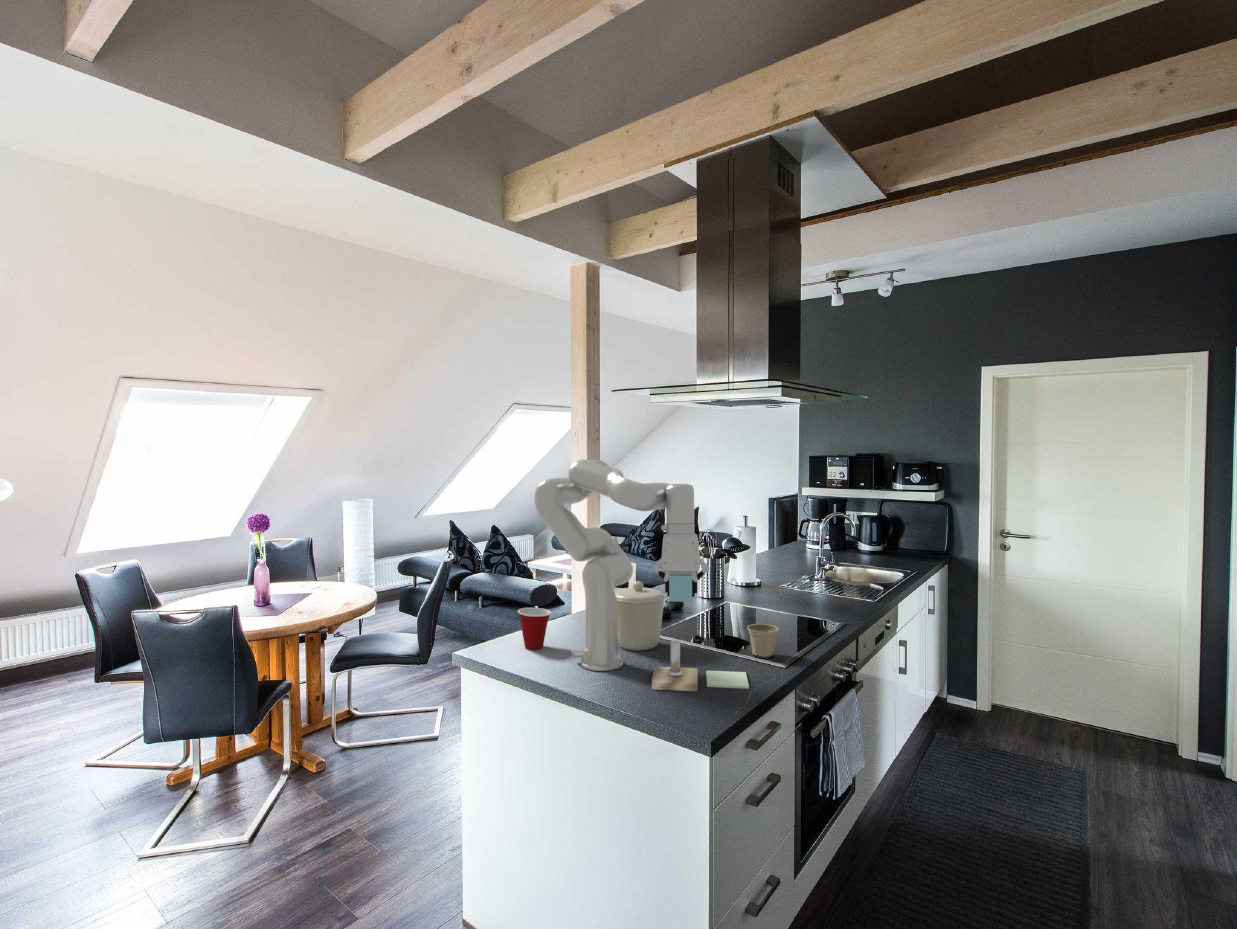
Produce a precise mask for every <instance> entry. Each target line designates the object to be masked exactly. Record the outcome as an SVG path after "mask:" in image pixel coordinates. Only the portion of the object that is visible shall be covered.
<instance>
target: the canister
mask: <svg viewBox="0 0 1237 929" xmlns="http://www.w3.org/2000/svg"><path fill="white" fill-rule="evenodd" d="M614 592H615V595H616V598H617V603H618V646H620V647H621V648H623V649H625V650H629V651H636V652H637V651H638V652H639V651H649V650H652V649H654V648H655V647H657V646H658V645H659V642H660V637H661V629H662V625H663V624H662V622H663V613H664V606H665V605H664V603H665V600H666V599H667V595H666V593H663V592H662V591H661V590H658V589H655V588H650V587H644V583H643V582H642V581H638V580H637V581H634V582H633V583H632V587H624V588H620V589H617V590H614Z"/></svg>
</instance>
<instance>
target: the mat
mask: <svg viewBox="0 0 1237 929" xmlns="http://www.w3.org/2000/svg"><path fill="white" fill-rule="evenodd" d="M705 674H706V687H707V688H724V689H727V688H728V689H747V690H749V689H750V685H749V681H748V677H747V672H746V671H725V670H706V673H705Z"/></svg>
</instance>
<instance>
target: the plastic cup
mask: <svg viewBox="0 0 1237 929" xmlns="http://www.w3.org/2000/svg"><path fill="white" fill-rule="evenodd" d="M517 614H518V616H519V622H520V625H521V632H522V639H523V644H524V648H525V649H526V650H529V649H537V650H541V649H543V647H544V642H545V638H546V633H547V626H548V622H549V619H550V617H551V615H552V611H551V610H549V609H546V608H541V607H523V608H519V609H518V610H517Z"/></svg>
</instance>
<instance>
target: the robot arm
mask: <svg viewBox="0 0 1237 929" xmlns="http://www.w3.org/2000/svg"><path fill="white" fill-rule="evenodd" d="M593 494H599V495H601V496H605V497H607V498H610V500H611V501H613V502H615V503H616V504H618V505H620V506H623V507H625V508H629V509H633V510H636V511H640V512H650V511H658V510H664V509H666V510H665V511H666V512H665V514H666V517H665V519H666V523H665V524H661V526H660V528H661V531H665V532H666V533H665V534H663V537H662V547H661V557H660V559H659V560H658V561H657V562H656V563H655V564H653V566H652V569H653V571H654V572H655V573H656V574H658V576H659V577H660V578H661V579H662V580H663V581H664V594H667V597H669V575H670V574H671V572H690V573H691V575H692V596H693V598H695V595H696V594H698V583H699V582H698V581H699V580H700V579H702V577H704V575H705V574H707V573H708V572H709V570H710V565H708V564H707V563H706V562H705V561H704V560H703V559H702V558H701V557H700V556H701V555H700V544H699V537H698V534H697V533H695V489H694V486H693V485H692V484H689V483H672V484H671V483H668V482H667V483H666V482H647V483H641V482H638V481H635V480H632V479H628V478H625V476H624V473H623V472H622V470H620V469H618V468H615V467H612V466H610V465H609V464H608V463H607V462H605V461H603V460H601V459H580V460H576V461H575V462H573V463H572V464H571V465H570V466H569V468H568V476H567V477H553V478H548V479H545V480H543V481H541V482H539V484H538V485H537V486H536V488H535V492H534V505H535V510H536V511H537V514H538V515H539V517H540V518H541V519H542V521H543V523H544V524H546V526H547V527H548V528H549V530H551V532H552V533H553V534H554V536H555V538H556V539H557V540H558V541H559V543H560V544H561V545H562V547H563V548H564V550H565V551H566V553H567V554H568V555H569V556H570V557H571V559H573V560H574V561H576V562H587V561H588V562H587V563H586V564H585V565H584V567H583V569H582V573H581V574H582V575H581V576H582V577H581V578H582V585H583V591H584V597H585V598H584V599H585V601H584V602H585V647H584V648H583V647H582V648H581V649H579V648H571V653H570V654H571V656H573V657H574V658H581V659H580V666H581V667H582V668H584V669H585V670H589V671H597V672H607V671H614V670H617V669H619V668H622V666H623V665H624V659H623V658H622V657H620V656H619V643H618V603H617V598H616V595H615V588H616V587H617V586H622V585H624V584H626V583H627V582H629V581H630V579H631V578H632V576H633V573H634V570H633V563H632V561H631V560H630V558H629V556H628V555H627V554H626V552H625V551H624V550H623V549H622V547H621V546H620V544H618V543H617V541H616V540H615V538H614V537H613V536H612V535H611V534H610V532H608V531H607V530H605V529H603V528H601V527H590V528H587V527H586V526H584V525H583V524H582V522H581V521H580V520H579V519H578V518H577V516H576V515H575V514H574V513H573V512H572V511H571V510H569V509H568V508H567V507H565V506H564V505H566V506H567V505H576V504H577V503H580V502H582V501H584V500H586V499H587V498H589V497H590V496H592V495H593ZM700 566H701V567H702V569H701V570H700ZM660 567H661V568H662V569H661V568H660ZM699 570H700V571H699ZM698 571H699V572H698ZM665 572H666V573H665ZM697 572H698V573H697Z"/></svg>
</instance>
